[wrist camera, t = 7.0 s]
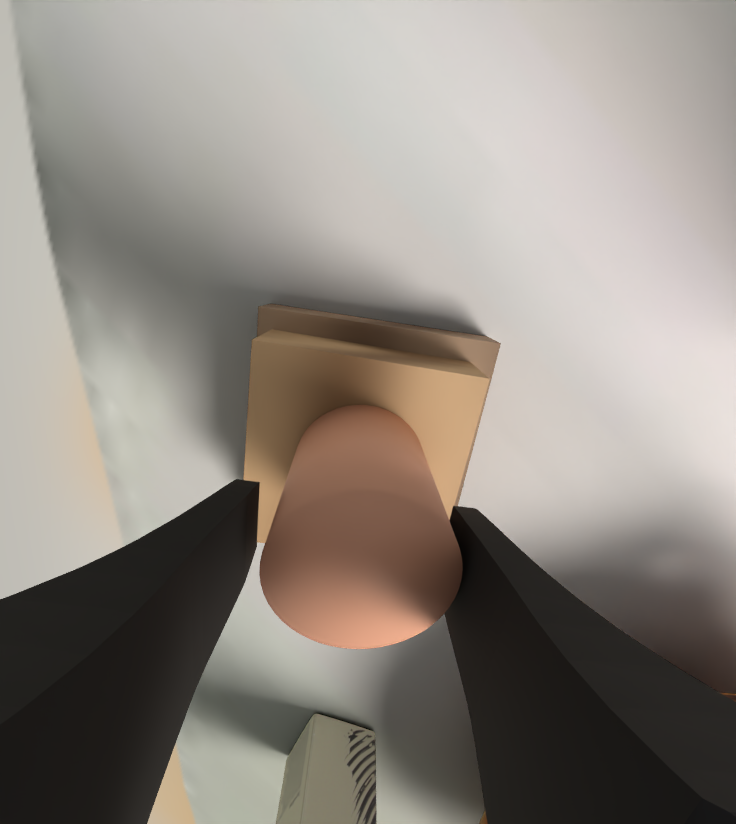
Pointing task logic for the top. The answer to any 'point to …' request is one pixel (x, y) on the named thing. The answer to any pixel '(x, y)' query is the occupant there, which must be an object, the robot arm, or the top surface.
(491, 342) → the bottom block
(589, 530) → the top surface
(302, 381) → the top block
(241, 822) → the top surface
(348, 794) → the box
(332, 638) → the peach capsule
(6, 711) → the robot arm
